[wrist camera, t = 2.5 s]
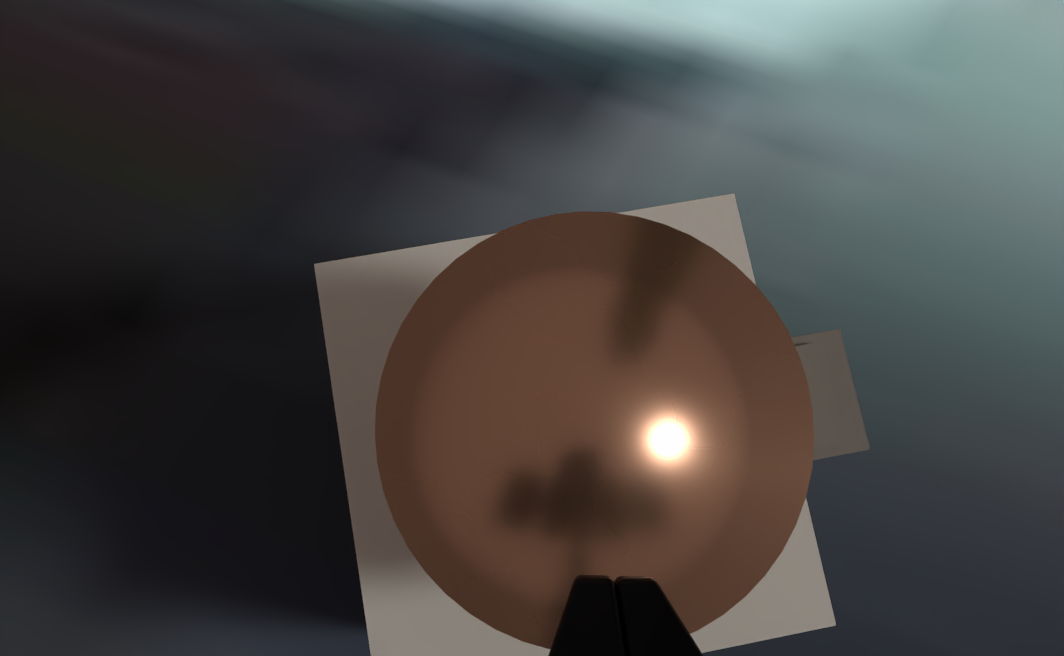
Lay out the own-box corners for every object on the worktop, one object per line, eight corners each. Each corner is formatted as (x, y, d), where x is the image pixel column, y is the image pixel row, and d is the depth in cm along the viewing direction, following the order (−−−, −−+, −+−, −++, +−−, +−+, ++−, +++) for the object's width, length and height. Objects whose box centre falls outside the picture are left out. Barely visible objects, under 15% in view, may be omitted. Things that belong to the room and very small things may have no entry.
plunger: (720, 557, 17) (861, 605, 10) (447, 611, 17) (412, 697, 10) (662, 291, 18) (758, 180, 11) (402, 337, 18) (344, 249, 11)
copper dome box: (784, 562, 23) (934, 605, 15) (422, 634, 22) (380, 718, 14) (718, 277, 24) (824, 178, 16) (376, 337, 23) (313, 263, 16)
